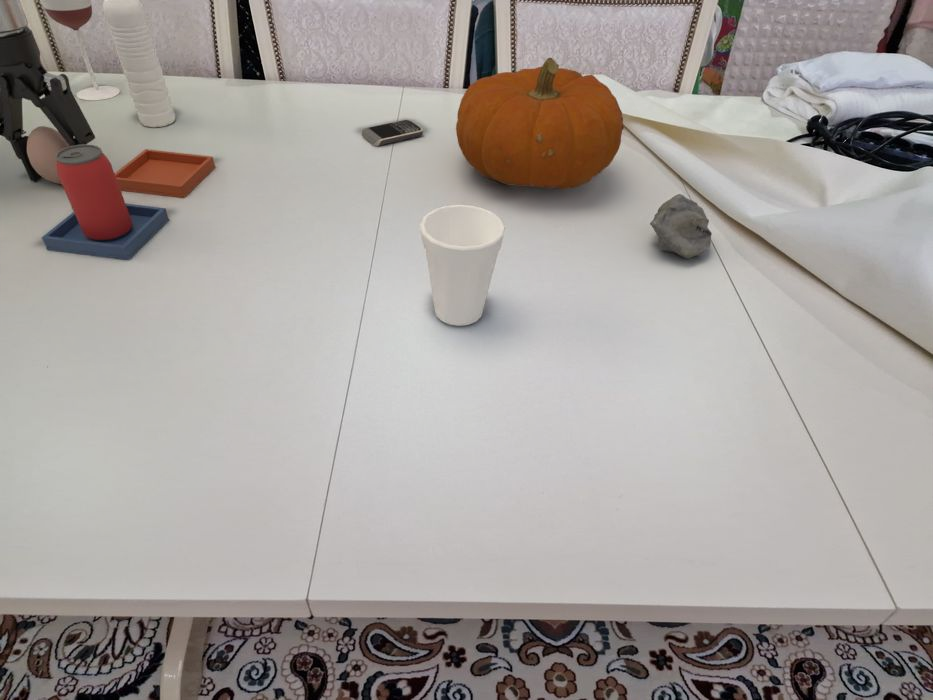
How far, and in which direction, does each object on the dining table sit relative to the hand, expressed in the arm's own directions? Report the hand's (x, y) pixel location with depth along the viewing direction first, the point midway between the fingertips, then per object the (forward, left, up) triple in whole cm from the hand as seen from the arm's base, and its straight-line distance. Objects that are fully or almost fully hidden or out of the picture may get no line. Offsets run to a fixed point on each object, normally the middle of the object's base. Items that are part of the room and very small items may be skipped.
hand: (63, 180), depth 101 cm
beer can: (+16, -13, 0) cm, 21 cm away
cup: (+69, -21, 0) cm, 72 cm away
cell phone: (+48, +31, 0) cm, 57 cm away
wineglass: (-17, +37, 0) cm, 41 cm away
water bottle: (+3, +27, 0) cm, 27 cm away
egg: (0, 0, 0) cm, 0 cm away
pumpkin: (+76, +21, 0) cm, 79 cm away
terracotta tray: (+15, +5, 0) cm, 16 cm away
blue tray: (+16, -13, 0) cm, 21 cm away
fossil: (+99, +1, 0) cm, 99 cm away
